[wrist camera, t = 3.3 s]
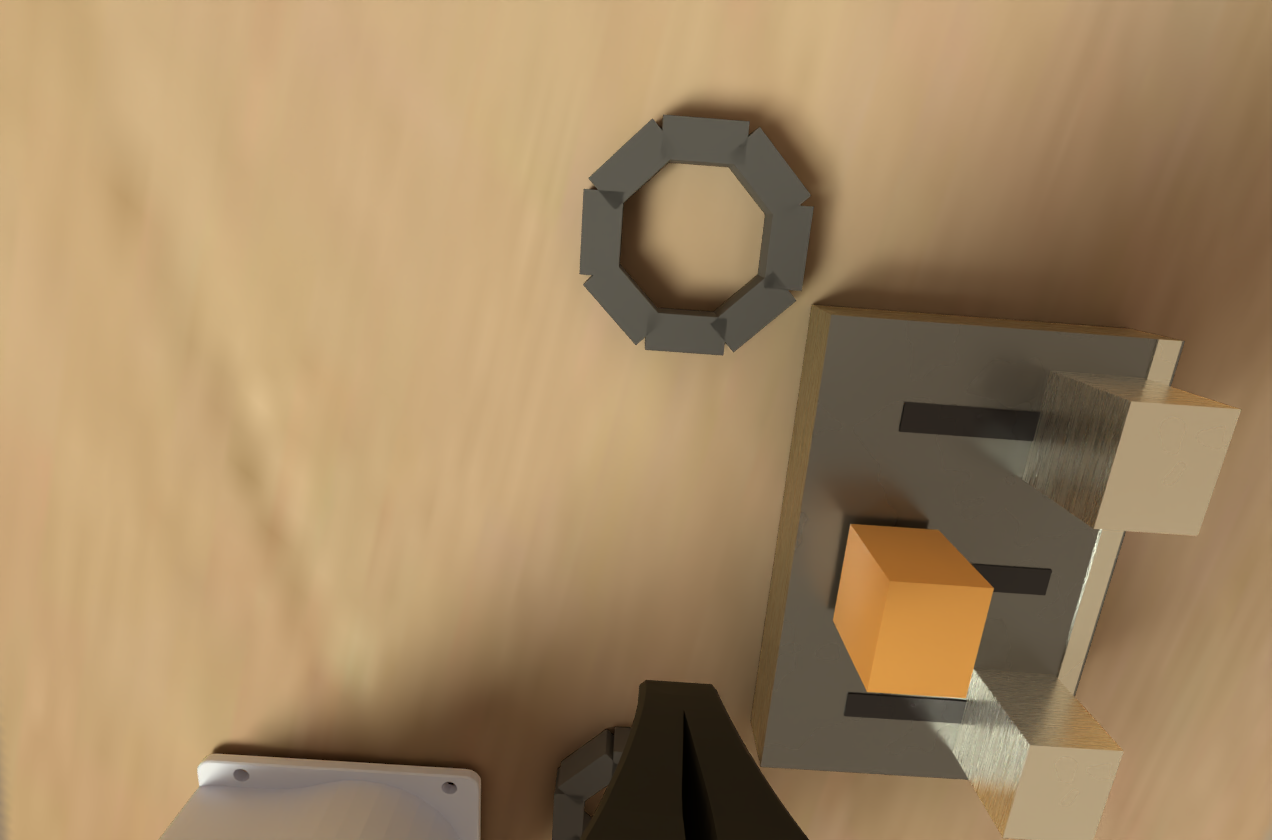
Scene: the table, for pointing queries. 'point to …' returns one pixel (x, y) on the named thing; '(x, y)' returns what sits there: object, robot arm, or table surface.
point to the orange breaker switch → (910, 611)
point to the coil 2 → (779, 247)
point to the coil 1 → (584, 781)
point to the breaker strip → (977, 540)
